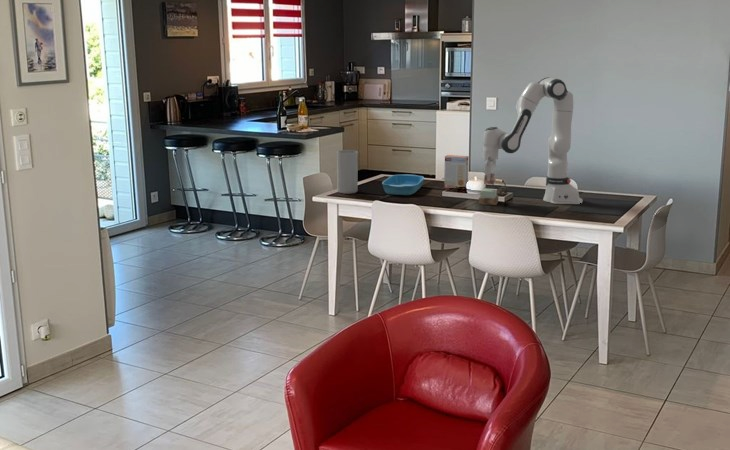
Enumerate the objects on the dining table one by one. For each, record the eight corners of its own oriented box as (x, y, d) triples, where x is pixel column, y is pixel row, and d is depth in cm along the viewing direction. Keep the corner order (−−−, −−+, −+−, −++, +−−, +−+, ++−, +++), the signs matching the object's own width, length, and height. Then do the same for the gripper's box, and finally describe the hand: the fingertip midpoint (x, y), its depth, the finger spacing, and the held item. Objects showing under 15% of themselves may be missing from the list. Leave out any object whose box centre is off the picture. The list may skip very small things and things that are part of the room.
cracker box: (468, 188, 503) (469, 155, 498) (465, 190, 498) (466, 157, 493) (446, 186, 509) (447, 154, 504) (443, 188, 503) (444, 155, 498)
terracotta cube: (494, 182, 463) (494, 174, 462) (492, 184, 458) (493, 175, 457) (485, 182, 464) (485, 173, 463) (484, 183, 459) (484, 175, 458)
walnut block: (498, 202, 468) (498, 195, 467) (496, 205, 458) (496, 199, 457) (481, 201, 470) (481, 194, 469) (478, 204, 461) (478, 198, 460)
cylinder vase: (360, 193, 490) (360, 152, 484) (340, 194, 486) (340, 153, 480) (353, 189, 502) (353, 149, 495) (334, 190, 498) (334, 150, 491)
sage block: (496, 195, 466) (497, 189, 465) (494, 198, 458) (494, 191, 457) (483, 194, 468) (483, 188, 467) (480, 197, 461) (480, 190, 460)
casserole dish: (414, 197, 478) (414, 186, 476) (378, 195, 484) (378, 184, 483) (427, 186, 512) (427, 175, 511) (393, 184, 519) (393, 173, 517)
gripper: (493, 158, 447) (492, 183, 450) (498, 153, 466) (496, 176, 469) (482, 158, 448) (481, 182, 452) (487, 152, 467) (486, 176, 471)
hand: (489, 179), depth 461 cm, fingers closed on terracotta cube, 5 cm apart
